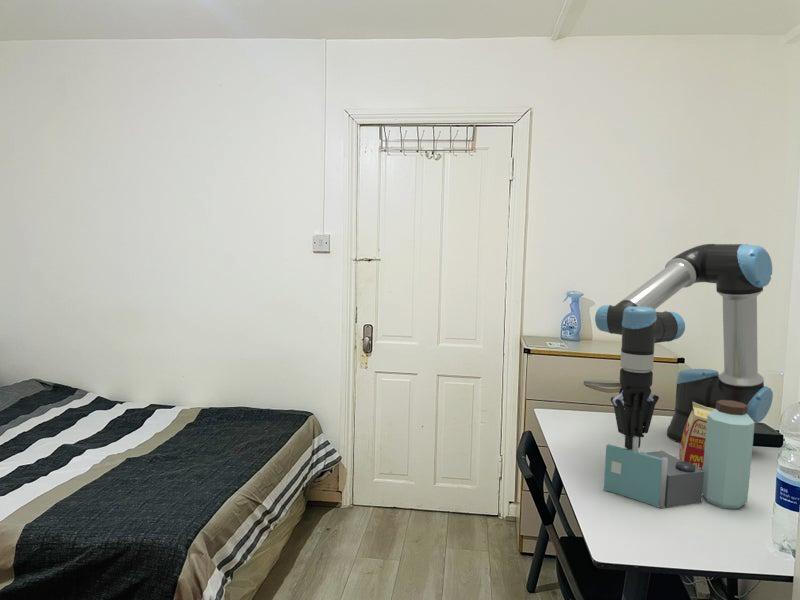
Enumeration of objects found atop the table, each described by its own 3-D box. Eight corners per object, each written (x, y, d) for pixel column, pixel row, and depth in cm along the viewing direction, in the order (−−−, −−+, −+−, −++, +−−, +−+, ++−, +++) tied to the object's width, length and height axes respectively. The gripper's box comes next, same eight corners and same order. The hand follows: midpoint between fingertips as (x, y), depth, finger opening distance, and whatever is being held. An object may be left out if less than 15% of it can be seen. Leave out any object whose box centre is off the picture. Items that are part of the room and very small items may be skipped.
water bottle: (746, 514, 133) (756, 412, 130) (699, 503, 138) (707, 405, 135) (746, 498, 141) (756, 402, 138) (702, 488, 146) (710, 395, 144)
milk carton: (681, 476, 154) (687, 405, 152) (677, 463, 163) (682, 396, 160) (718, 481, 151) (725, 409, 149) (712, 468, 159) (718, 400, 157)
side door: (665, 506, 135) (668, 458, 134) (663, 508, 134) (666, 460, 133) (605, 487, 145) (608, 442, 144) (603, 489, 144) (606, 444, 143)
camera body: (659, 478, 152) (662, 447, 151) (701, 502, 138) (704, 467, 137) (626, 483, 149) (628, 450, 148) (665, 507, 135) (668, 472, 134)
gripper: (646, 364, 144) (642, 452, 147) (604, 367, 140) (600, 457, 143) (668, 370, 137) (663, 463, 140) (625, 374, 133) (620, 469, 136)
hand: (631, 460), depth 141 cm, fingers closed
